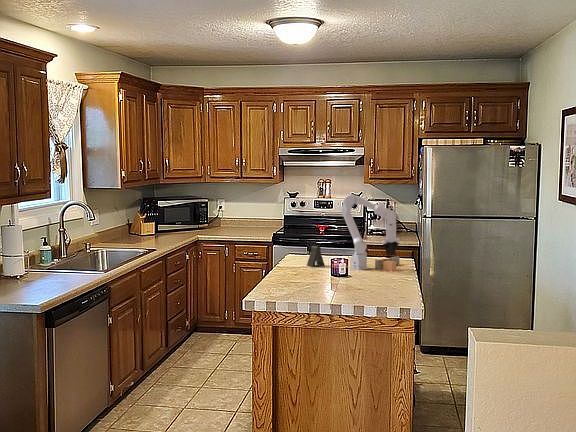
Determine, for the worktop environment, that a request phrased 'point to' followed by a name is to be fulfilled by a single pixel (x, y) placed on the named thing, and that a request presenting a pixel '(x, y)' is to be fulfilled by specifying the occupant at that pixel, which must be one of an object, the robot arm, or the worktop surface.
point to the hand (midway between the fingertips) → (390, 255)
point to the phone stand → (315, 257)
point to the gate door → (384, 260)
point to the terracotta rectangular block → (389, 265)
